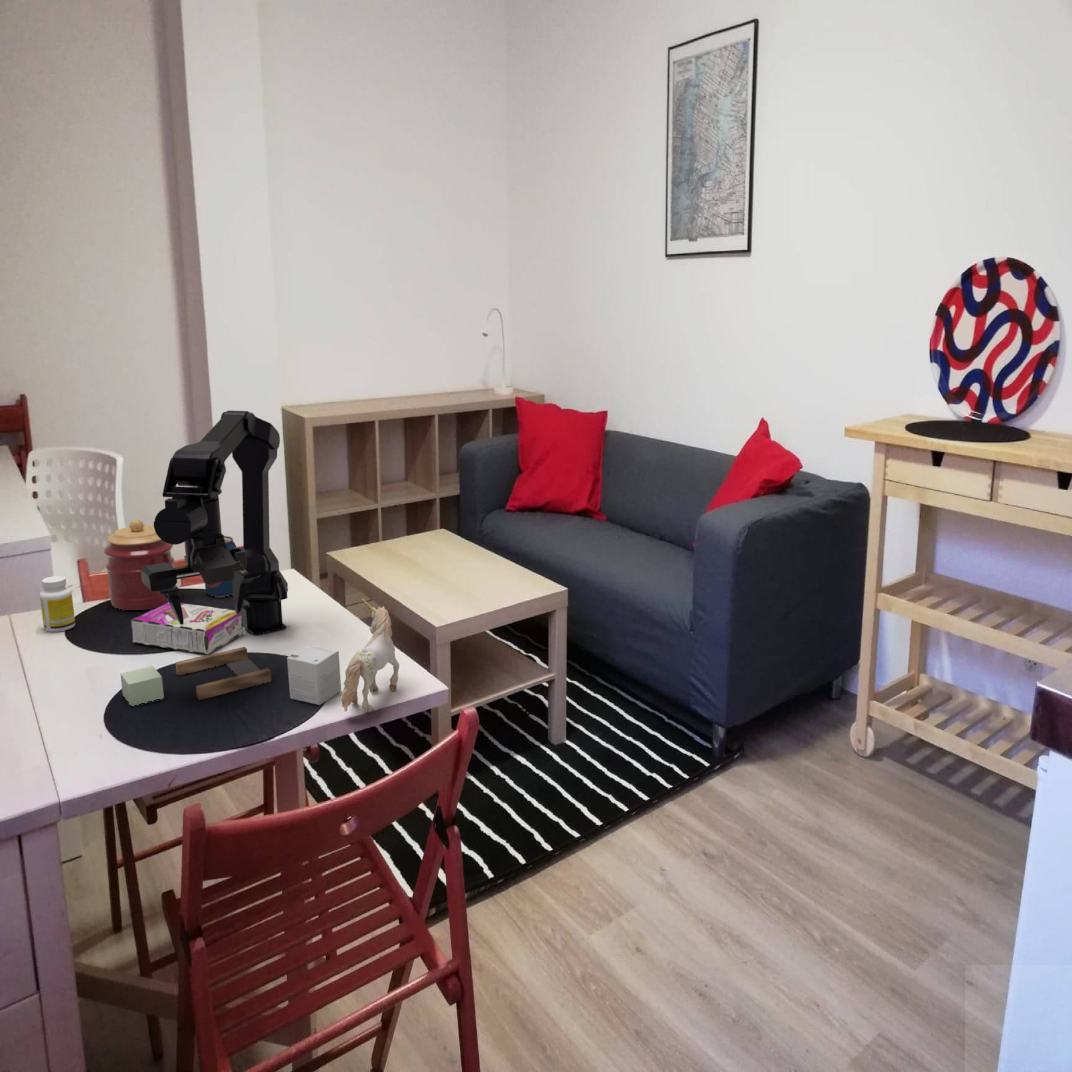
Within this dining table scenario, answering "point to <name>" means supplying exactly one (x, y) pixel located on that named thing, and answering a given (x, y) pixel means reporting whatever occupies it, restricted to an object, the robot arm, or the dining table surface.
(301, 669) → the skincare box
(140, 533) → the canister
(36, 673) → the dining table surface
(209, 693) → the channel
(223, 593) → the soda can
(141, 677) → the sage block
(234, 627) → the candy bar box
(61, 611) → the supplement bottle
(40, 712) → the dining table surface
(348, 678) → the unicorn figurine
